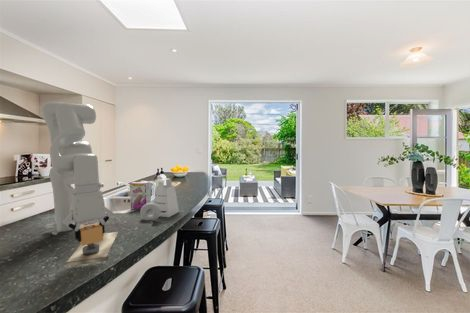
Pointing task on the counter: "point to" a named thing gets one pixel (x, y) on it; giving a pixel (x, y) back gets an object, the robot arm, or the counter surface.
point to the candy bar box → (139, 194)
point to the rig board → (103, 251)
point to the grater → (166, 198)
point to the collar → (91, 234)
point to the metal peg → (90, 248)
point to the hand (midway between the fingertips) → (90, 237)
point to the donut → (146, 207)
